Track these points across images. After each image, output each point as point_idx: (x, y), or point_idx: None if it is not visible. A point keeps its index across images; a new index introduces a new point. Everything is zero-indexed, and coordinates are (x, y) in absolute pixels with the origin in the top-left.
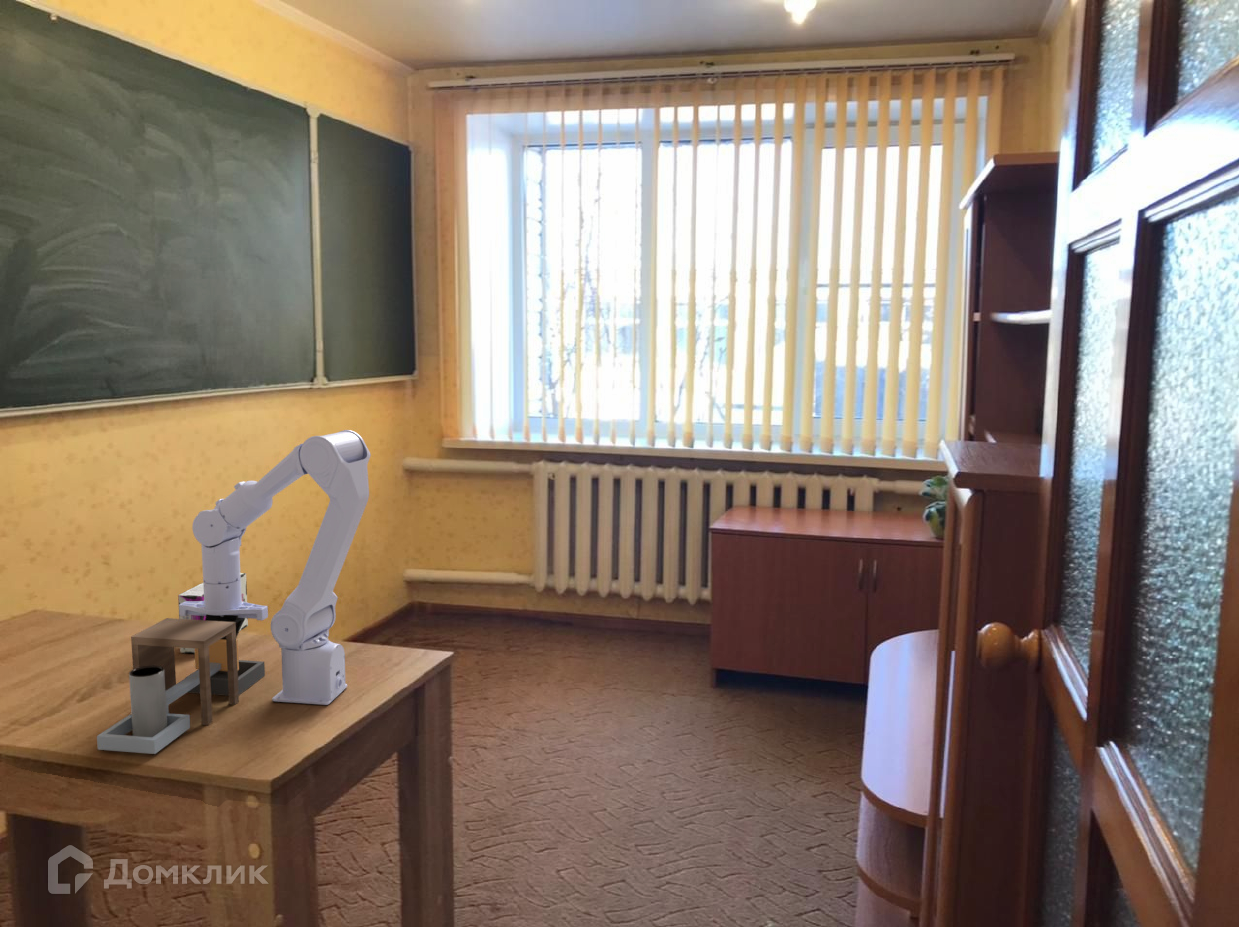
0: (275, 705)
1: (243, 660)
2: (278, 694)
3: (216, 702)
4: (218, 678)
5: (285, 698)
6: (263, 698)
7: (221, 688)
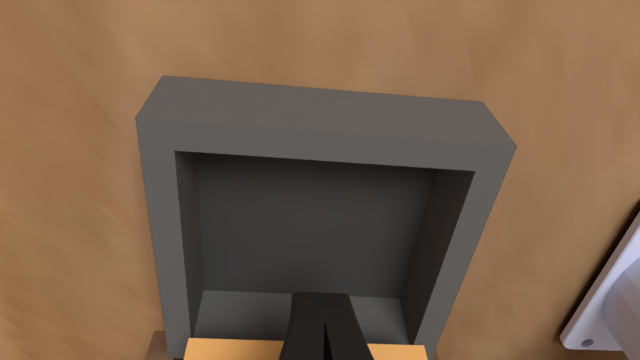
0: (569, 350)
1: (365, 137)
2: (585, 320)
3: None
4: None
5: (612, 342)
6: (519, 314)
7: None
